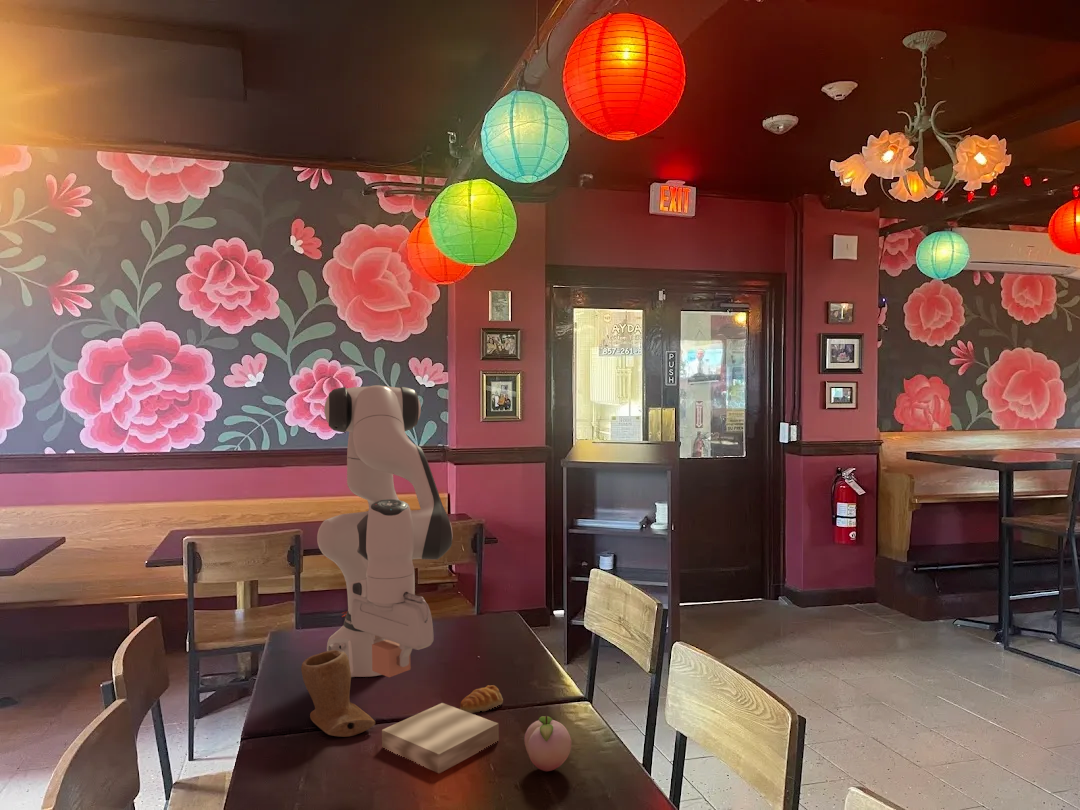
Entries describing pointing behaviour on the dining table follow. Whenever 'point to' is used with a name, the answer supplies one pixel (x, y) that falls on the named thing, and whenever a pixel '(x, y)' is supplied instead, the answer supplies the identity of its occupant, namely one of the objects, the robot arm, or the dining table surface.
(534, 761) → the decorative fruit
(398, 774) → the dining table surface
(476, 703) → the pastry
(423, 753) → the birch base
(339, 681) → the cork boot vase
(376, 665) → the terracotta block
